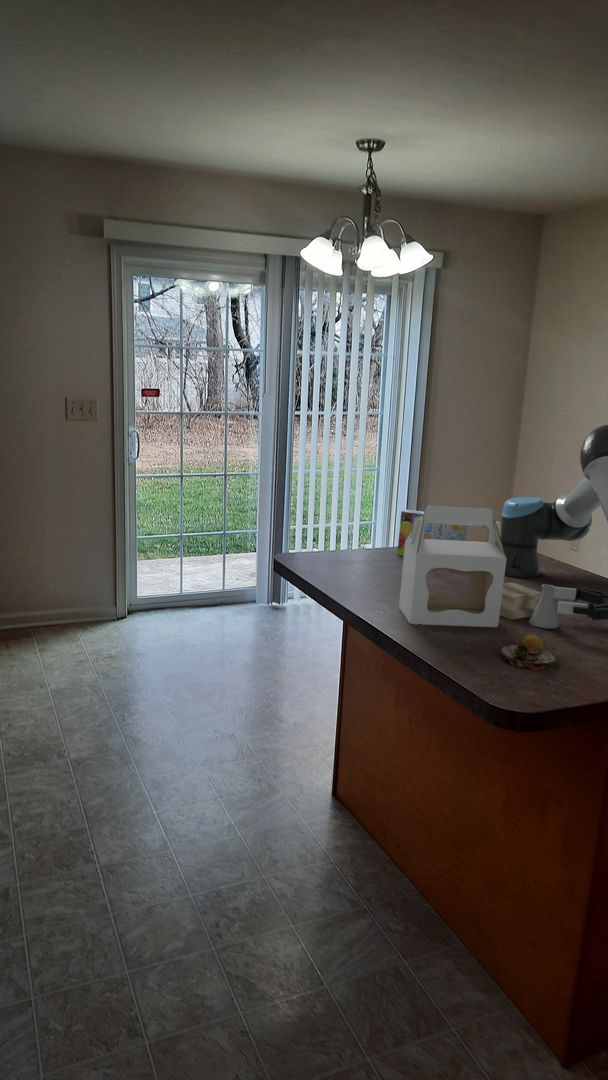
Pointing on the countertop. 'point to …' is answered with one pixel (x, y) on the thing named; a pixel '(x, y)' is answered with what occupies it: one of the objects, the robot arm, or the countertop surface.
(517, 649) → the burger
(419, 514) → the snack box
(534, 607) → the beech box
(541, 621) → the flask
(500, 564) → the gable box
